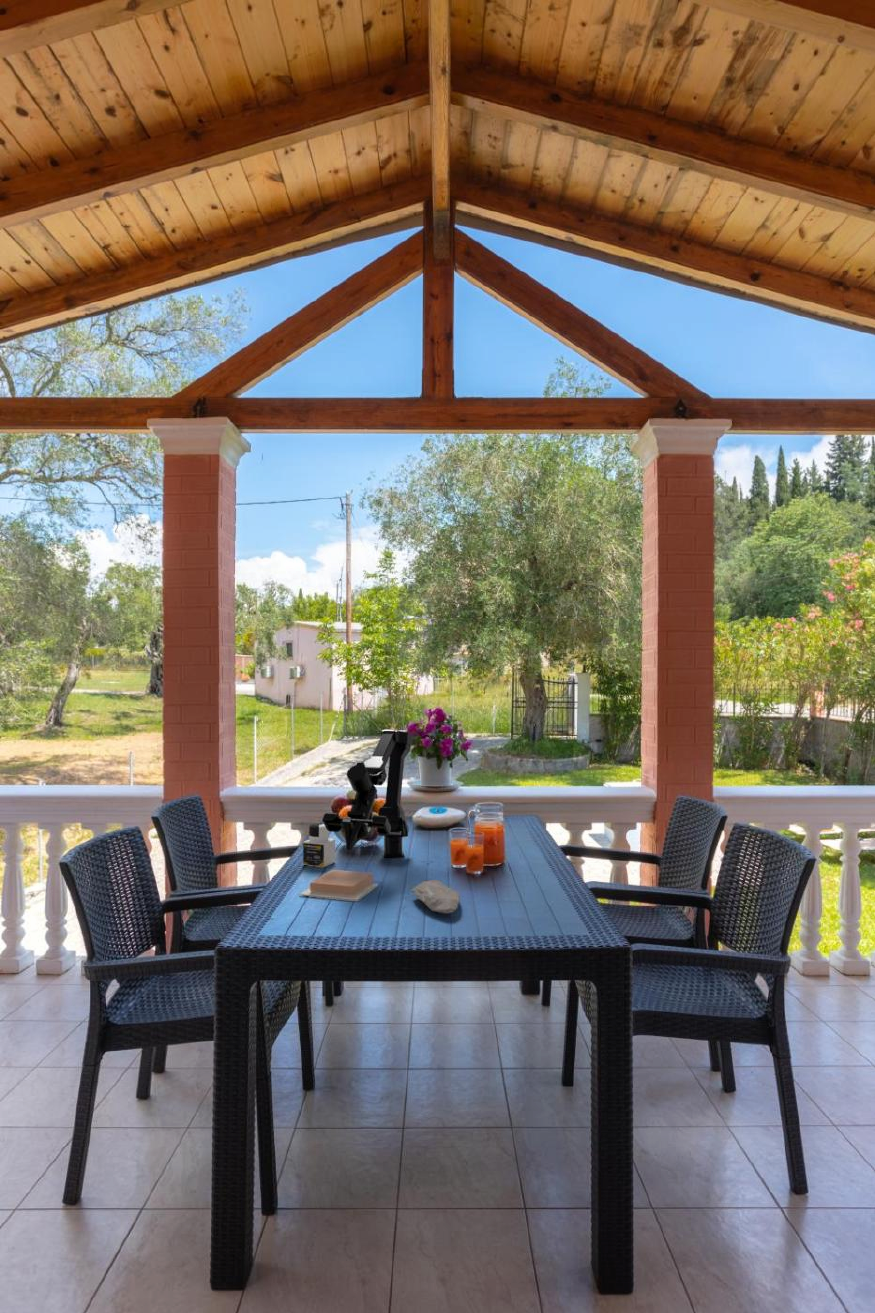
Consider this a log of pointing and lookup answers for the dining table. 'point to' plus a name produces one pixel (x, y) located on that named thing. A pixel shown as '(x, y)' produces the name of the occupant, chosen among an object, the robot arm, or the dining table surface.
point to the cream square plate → (341, 897)
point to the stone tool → (437, 896)
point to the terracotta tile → (341, 882)
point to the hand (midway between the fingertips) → (348, 849)
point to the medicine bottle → (318, 847)
